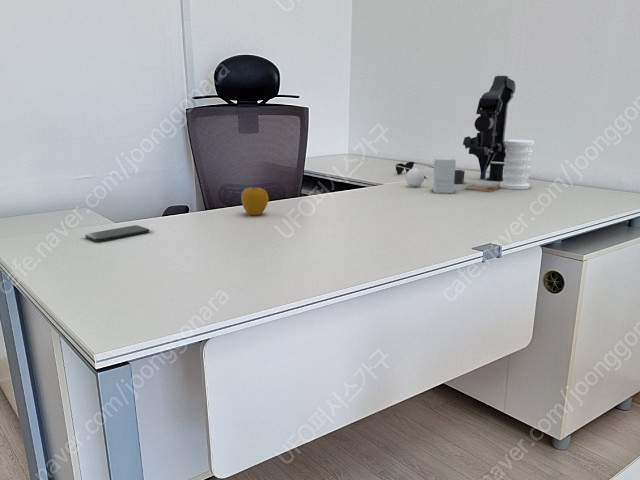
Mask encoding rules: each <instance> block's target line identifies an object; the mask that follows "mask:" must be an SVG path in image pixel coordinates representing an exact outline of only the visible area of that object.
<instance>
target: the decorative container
mask: <svg viewBox="0 0 640 480" xmlns="http://www.w3.org/2000/svg"><path fill="white" fill-rule="evenodd" d="M504 141H505V144H506V145H507V148H506V150H505V153H506V157H505V159H504V161H505V162H504V163H505V165H504V167H503V168H504V169H503V180H502V181H499V188H502V189H506V190H507V189H508V190H529V189H530V187H531V183H528V182H529V178H530V171H531V166H530V164H531V162H532V157H531V156H532V153H533V149H532V148H533V146H534V145H535V141H534V140H531V139H530V140H529V139H516V138H515V139H504Z"/></svg>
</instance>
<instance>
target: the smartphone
mask: <svg viewBox="0 0 640 480" xmlns="http://www.w3.org/2000/svg"><path fill="white" fill-rule="evenodd" d="M149 232H150V229H149V228H147V227H144V226H140V225H136V224H135V225H130V226H129V225H128V226H123V227H117V228H112V229H106V230H100V231H95V232H90V233H86V234H84V236H85V238H87V239H89V240H92V241H95V242H104V241H108V240H114V239H119V238H125V237H130V236H136V235H141V234H146V233H149Z"/></svg>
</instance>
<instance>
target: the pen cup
mask: <svg viewBox="0 0 640 480" xmlns="http://www.w3.org/2000/svg"><path fill="white" fill-rule="evenodd" d="M464 183H465V170H464V169H455V177H454V185H462V184H464Z"/></svg>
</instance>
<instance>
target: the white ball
mask: <svg viewBox="0 0 640 480" xmlns="http://www.w3.org/2000/svg"><path fill="white" fill-rule="evenodd" d="M424 176H425V174H424V171H423V170H421V169H420V168H419V167H418V168H417V167H413V168H412V169H410V170H409V171H408V173H407V172H406V175H405V181H406V183H407V184H408V185H409V186H411V187H419V186H421V185H422V184H423V183H424V181H425V178H424Z"/></svg>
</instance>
